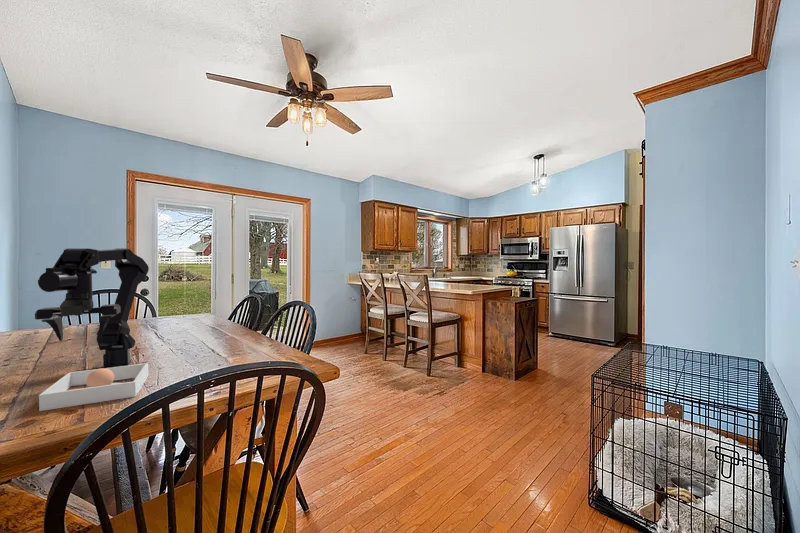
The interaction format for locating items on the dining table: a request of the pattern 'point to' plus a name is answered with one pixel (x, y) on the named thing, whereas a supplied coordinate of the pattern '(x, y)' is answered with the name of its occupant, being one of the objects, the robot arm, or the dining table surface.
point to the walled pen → (93, 388)
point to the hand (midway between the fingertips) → (81, 339)
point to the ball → (100, 378)
